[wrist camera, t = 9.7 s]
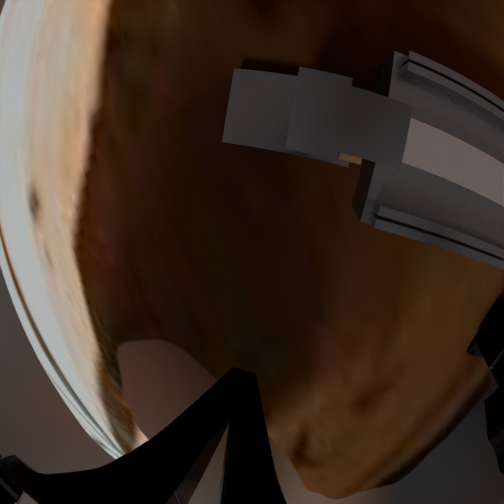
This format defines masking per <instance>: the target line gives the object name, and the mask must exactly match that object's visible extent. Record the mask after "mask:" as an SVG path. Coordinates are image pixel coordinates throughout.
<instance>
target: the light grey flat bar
mask: <svg viewBox="0 0 504 504" xmlns="http://www.w3.org/2000/svg"><path fill="white" fill-rule="evenodd" d="M402 163H405V164H408V165H411V166H413V167H416V168H419V169H421V170H424V171H427V172H429V173H432V174H434V175H437V176H439V177H442V178H444V179H447V180H449V181H451V182H454V183H456V184H458V185H460V186H463V187H465V188H467V189H469V190H471V191H473V192H475V193H478V194H480V195H482V196H484V197H486V198H488V199H490V200H492V201H494V202H495V203H497V204H499V205H501V206H503V207H504V164H503V163H501V162H499V161H498V160H496V159H495V158H493V157H491V156H489V155H488V154H486V153H484V152H483V151H481V150H479V149H477V148H475V147H473V146H472V145H470V144H468V143H466V142H464V141H462V140H460V139H458V138H456V137H454V136H452V135H450V134H448V133H445V132H443V131H441V130H439V129H437V128H434V127H432V126H430V125H427V124H425V123H423V122H420V121H418V120H415V119H413V118H411V120H410V125H409V131H408V136H407V141H406V146H405V150H404V155H403V159H402Z"/></svg>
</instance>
